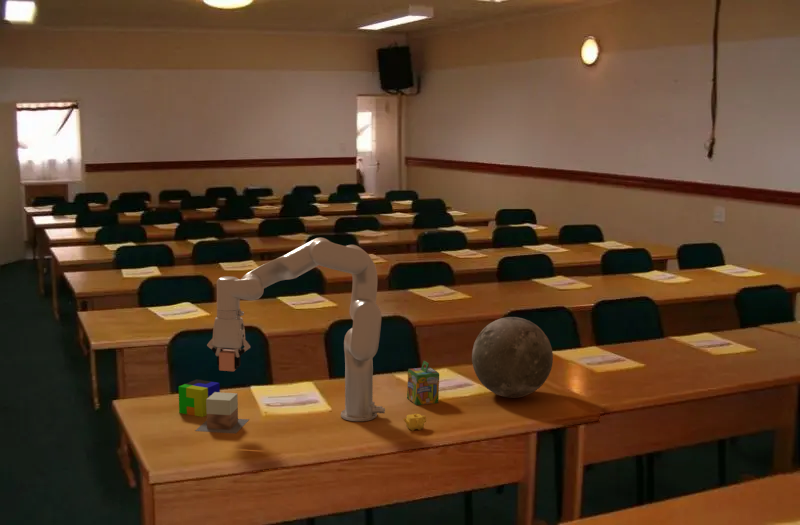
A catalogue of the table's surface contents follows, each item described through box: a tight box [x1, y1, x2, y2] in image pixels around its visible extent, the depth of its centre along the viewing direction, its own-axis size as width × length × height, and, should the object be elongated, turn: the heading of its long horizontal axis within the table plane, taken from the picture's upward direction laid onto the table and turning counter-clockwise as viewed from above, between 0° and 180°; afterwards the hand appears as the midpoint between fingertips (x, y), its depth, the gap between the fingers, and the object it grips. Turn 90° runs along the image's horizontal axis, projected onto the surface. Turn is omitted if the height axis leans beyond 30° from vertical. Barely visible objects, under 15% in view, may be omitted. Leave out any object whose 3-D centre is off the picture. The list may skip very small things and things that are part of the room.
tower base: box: [206, 408, 239, 430], centre depth 296 cm, size 8×8×5 cm
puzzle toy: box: [177, 378, 221, 418], centre depth 310 cm, size 10×10×10 cm
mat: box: [194, 418, 250, 434], centre depth 296 cm, size 14×14×1 cm
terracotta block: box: [218, 348, 237, 372], centre depth 294 cm, size 5×5×6 cm
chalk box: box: [406, 360, 440, 406], centre depth 324 cm, size 9×9×15 cm
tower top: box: [206, 391, 239, 415], centre depth 295 cm, size 8×8×5 cm
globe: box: [471, 316, 554, 399], centre depth 330 cm, size 30×30×30 cm
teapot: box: [402, 413, 427, 432], centre depth 295 cm, size 8×6×5 cm
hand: (228, 366), depth 295 cm, fingers closed on terracotta block, 5 cm apart
